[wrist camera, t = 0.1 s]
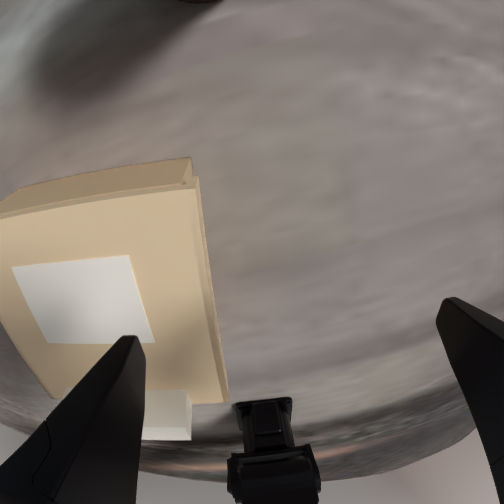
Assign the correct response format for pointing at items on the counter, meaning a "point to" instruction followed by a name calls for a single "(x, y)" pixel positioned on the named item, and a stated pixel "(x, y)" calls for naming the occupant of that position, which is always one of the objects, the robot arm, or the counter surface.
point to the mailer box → (100, 184)
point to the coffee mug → (197, 1)
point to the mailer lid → (117, 296)
